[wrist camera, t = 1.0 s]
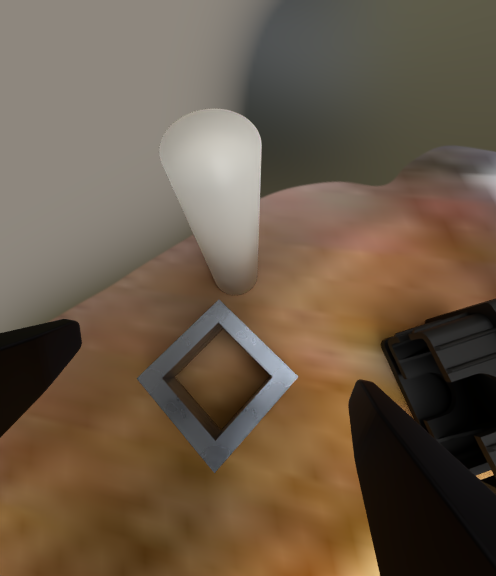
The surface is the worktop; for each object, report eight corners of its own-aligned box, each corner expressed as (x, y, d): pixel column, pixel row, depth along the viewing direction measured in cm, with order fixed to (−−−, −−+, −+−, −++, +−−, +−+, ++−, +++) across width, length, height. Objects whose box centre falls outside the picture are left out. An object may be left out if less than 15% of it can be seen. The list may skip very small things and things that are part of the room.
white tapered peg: (235, 304, 22) (207, 207, 9) (204, 275, 23) (138, 148, 10) (266, 273, 23) (282, 143, 10) (235, 246, 24) (212, 94, 11)
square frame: (220, 457, 19) (214, 472, 16) (152, 377, 21) (136, 378, 18) (292, 375, 20) (298, 376, 17) (223, 308, 22) (218, 299, 19)
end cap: (522, 437, 19) (663, 473, 12) (436, 469, 18) (535, 523, 12) (451, 311, 22) (533, 287, 15) (375, 335, 21) (427, 321, 15)
